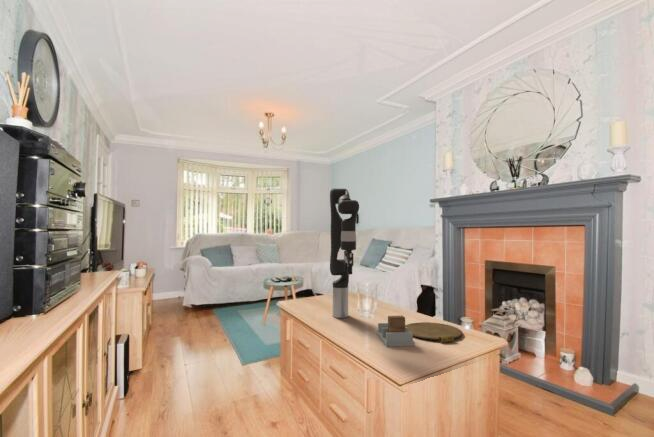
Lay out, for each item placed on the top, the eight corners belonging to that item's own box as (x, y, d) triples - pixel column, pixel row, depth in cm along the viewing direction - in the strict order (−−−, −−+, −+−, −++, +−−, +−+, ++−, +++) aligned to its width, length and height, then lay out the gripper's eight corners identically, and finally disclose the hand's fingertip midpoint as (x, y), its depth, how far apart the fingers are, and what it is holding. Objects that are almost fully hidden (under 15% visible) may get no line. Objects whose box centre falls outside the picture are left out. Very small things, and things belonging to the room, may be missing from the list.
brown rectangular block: (387, 337, 145) (387, 315, 145) (402, 337, 145) (402, 315, 145) (390, 340, 141) (390, 318, 141) (405, 339, 142) (405, 317, 142)
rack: (376, 334, 154) (376, 322, 154) (402, 333, 155) (402, 322, 155) (386, 346, 138) (386, 334, 138) (414, 345, 139) (414, 333, 139)
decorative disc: (439, 318, 175) (478, 333, 146) (439, 324, 175) (478, 340, 146) (392, 322, 167) (424, 339, 138) (392, 328, 167) (424, 346, 138)
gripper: (358, 241, 148) (358, 275, 148) (353, 239, 163) (353, 270, 162) (343, 241, 148) (343, 275, 148) (339, 239, 162) (339, 270, 162)
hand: (348, 272), depth 155 cm, fingers open, 8 cm apart
